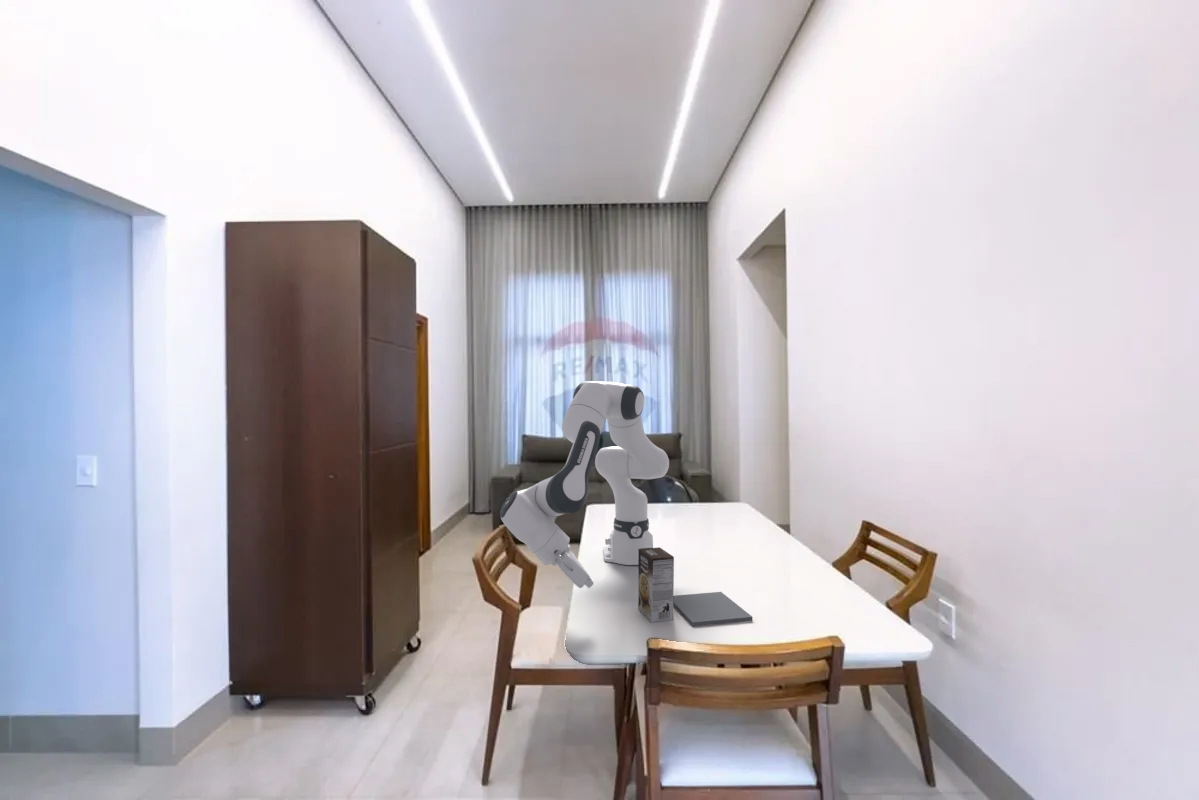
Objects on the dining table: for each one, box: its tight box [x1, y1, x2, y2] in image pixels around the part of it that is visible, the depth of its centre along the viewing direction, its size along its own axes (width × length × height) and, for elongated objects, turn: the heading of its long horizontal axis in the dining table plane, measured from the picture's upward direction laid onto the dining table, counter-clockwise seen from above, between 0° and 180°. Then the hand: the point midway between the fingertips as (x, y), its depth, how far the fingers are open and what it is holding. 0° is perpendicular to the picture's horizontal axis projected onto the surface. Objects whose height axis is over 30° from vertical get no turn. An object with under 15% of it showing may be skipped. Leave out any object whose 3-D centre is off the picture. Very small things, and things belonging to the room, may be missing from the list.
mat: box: [673, 591, 753, 627], centre depth 143 cm, size 18×16×1 cm
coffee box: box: [637, 547, 675, 623], centre depth 140 cm, size 9×6×16 cm
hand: (590, 584), depth 136 cm, fingers closed
